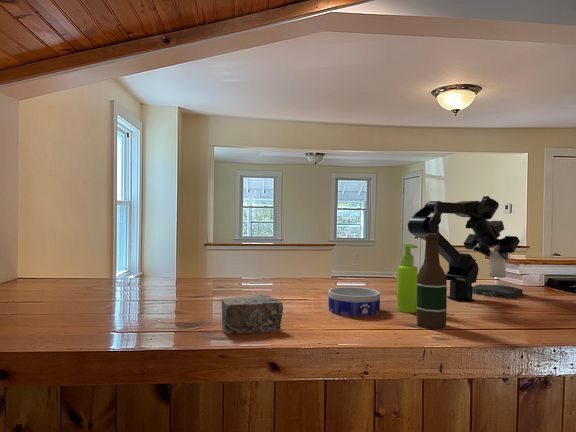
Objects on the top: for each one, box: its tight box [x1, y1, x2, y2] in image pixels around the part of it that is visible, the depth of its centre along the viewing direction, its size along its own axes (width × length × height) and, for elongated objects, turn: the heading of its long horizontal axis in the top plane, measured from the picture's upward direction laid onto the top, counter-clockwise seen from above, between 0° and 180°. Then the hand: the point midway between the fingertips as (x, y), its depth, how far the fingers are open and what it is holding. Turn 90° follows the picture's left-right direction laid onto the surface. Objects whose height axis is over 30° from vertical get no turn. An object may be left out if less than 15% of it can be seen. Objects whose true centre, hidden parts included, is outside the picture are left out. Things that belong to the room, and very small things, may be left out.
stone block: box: [220, 293, 284, 335], centre depth 102 cm, size 14×9×8 cm, turn 112°
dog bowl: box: [327, 286, 381, 318], centre depth 122 cm, size 15×15×6 cm
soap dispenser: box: [396, 243, 419, 314], centre depth 122 cm, size 6×7×20 cm
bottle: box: [488, 245, 507, 279], centre depth 150 cm, size 5×5×12 cm
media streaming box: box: [472, 284, 524, 300], centre depth 150 cm, size 15×15×3 cm
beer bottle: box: [416, 233, 448, 330], centre depth 106 cm, size 8×8×24 cm
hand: (499, 258), depth 151 cm, fingers closed on bottle, 5 cm apart
